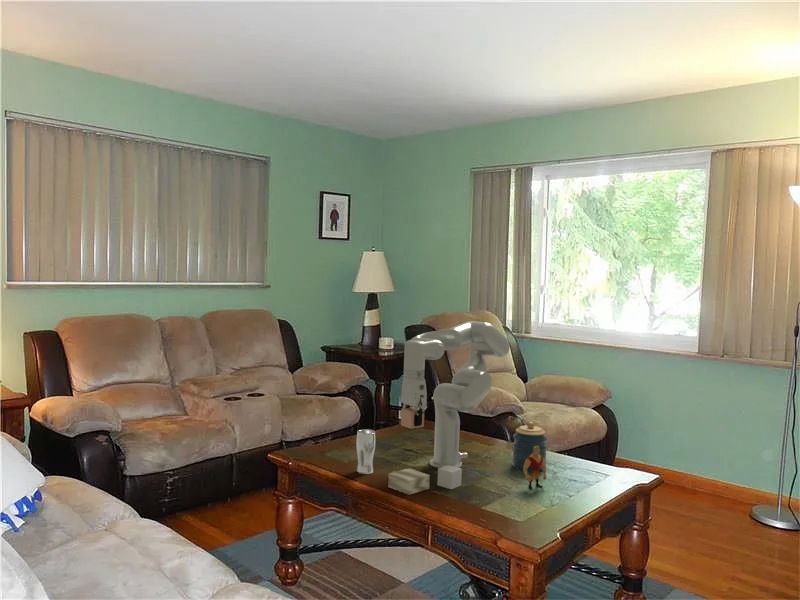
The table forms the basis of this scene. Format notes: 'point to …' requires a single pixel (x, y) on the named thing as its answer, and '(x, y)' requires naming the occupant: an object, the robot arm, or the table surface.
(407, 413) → the terracotta block
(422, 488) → the ash base block
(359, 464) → the beer glass
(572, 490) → the table surface
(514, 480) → the table surface
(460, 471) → the grey block
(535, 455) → the action figure
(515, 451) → the canister
